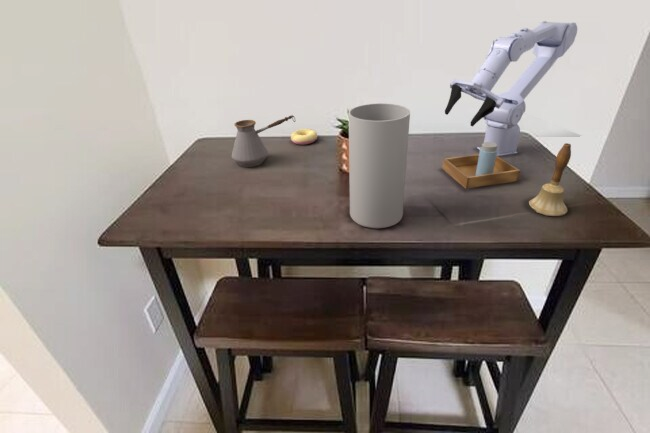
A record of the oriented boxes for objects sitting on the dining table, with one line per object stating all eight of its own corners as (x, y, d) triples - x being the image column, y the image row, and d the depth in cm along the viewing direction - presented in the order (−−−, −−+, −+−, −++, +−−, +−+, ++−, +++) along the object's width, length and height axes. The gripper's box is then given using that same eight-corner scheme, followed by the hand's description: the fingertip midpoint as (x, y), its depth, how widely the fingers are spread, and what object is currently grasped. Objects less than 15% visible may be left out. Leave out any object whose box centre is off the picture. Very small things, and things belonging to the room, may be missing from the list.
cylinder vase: (389, 235, 84) (395, 124, 71) (340, 221, 90) (337, 116, 77) (410, 209, 93) (419, 107, 80) (364, 198, 99) (365, 101, 86)
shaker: (486, 171, 108) (492, 140, 103) (495, 177, 104) (502, 146, 99) (472, 173, 107) (477, 142, 102) (481, 179, 103) (486, 148, 99)
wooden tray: (489, 163, 113) (491, 152, 112) (517, 182, 102) (520, 170, 100) (442, 170, 111) (443, 158, 109) (465, 190, 100) (467, 178, 98)
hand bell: (563, 201, 93) (584, 138, 85) (570, 218, 86) (592, 152, 78) (526, 197, 95) (542, 136, 87) (529, 214, 89) (547, 149, 80)
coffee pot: (228, 169, 118) (219, 122, 111) (239, 155, 128) (231, 110, 120) (296, 169, 116) (291, 121, 108) (301, 155, 126) (298, 109, 118)
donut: (289, 149, 136) (312, 148, 132) (285, 138, 133) (309, 136, 129) (299, 136, 143) (322, 134, 139) (295, 125, 140) (319, 123, 136)
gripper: (462, 58, 102) (434, 100, 102) (514, 78, 96) (484, 122, 96) (462, 73, 108) (435, 113, 108) (511, 93, 102) (483, 134, 102)
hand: (458, 118), depth 102 cm, fingers open, 7 cm apart
